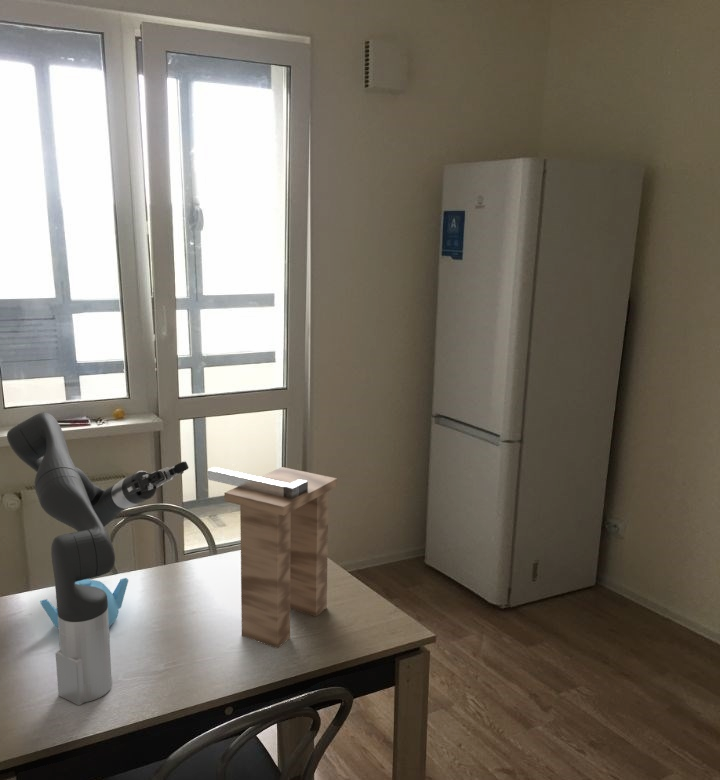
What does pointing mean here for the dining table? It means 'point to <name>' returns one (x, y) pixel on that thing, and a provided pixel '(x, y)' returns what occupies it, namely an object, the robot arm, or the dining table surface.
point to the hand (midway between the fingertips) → (174, 469)
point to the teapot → (113, 599)
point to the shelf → (282, 554)
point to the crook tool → (258, 483)
